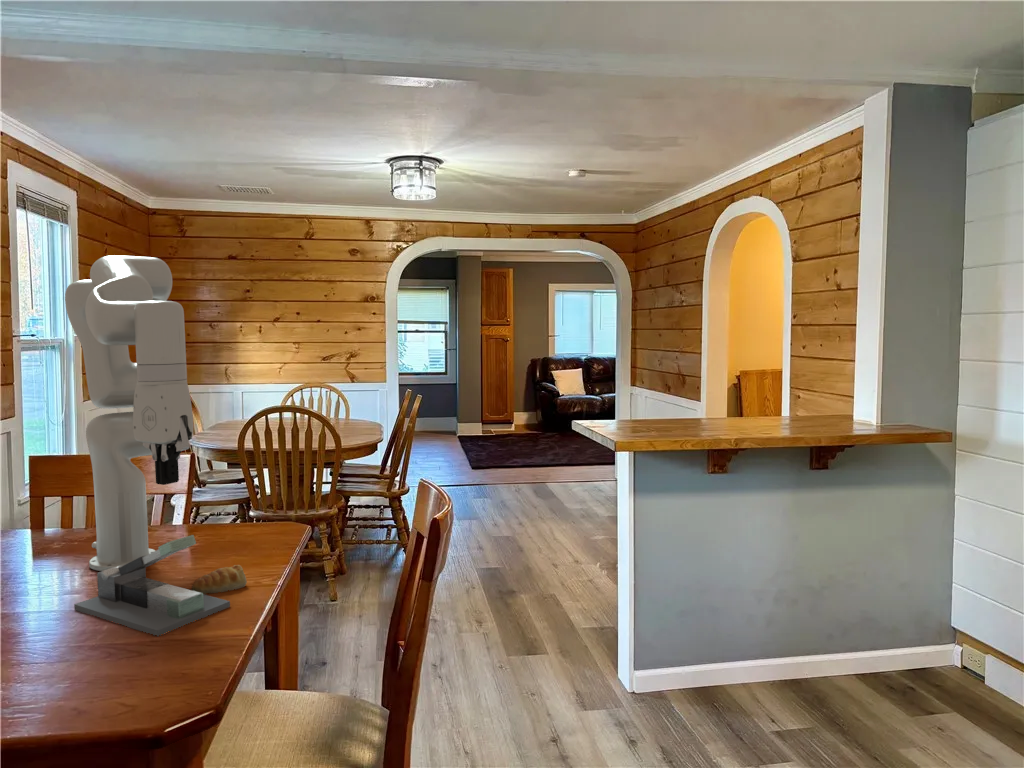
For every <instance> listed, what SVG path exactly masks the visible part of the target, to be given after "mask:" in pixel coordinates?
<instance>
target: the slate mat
mask: <svg viewBox="0 0 1024 768" xmlns="http://www.w3.org/2000/svg"><path fill="white" fill-rule="evenodd" d="M203 602H204V609H203V610H200V611H198V612H195V613H193V614H190V615H188V616H185V617H183V618H180V619H177V618H174V617H170V616H167V614H165V613H162V612H158V611H155V610H152V609H148V608H142V607H139V606H136V605H132V604H129V603H125V602H122V601H121V600H120V601H118V602H113V601H109V600H106V599H103V598H99V597H98V596H95V597H92V598H89V599H85V600H83V601H80V602H77V603H74V606H73V608H74V611H76V612H77V611H78V612H81V613H84V614H86V613H87V614H86V615H89V614H90V616H92V615H94V616H93V617H95V616H97V617H96V618H98V617H100V618H99V619H102V618H103V619H102V620H105V619H106V620H105V621H108V620H109V621H108V622H111V621H113V622H112V623H114V622H115V624H117V623H119V624H118V625H120V624H122V625H121V626H123V625H125V626H124V627H126V626H127V628H130V629H133V630H136V631H139V632H142V631H143V633H145V632H146V634H148V633H150V634H149V635H151V634H153V635H152V636H155V635H157V636H156V637H160V636H162V635H161V634H163V635H165V634H167V633H166V632H168V631H170V632H172V631H174V630H173V629H175V630H177V629H179V628H178V627H180V628H182V627H184V626H183V625H185V624H187V625H189V624H191V623H190V622H192V623H194V622H196V621H195V620H197V621H199V620H202V619H204V618H206V617H209V616H211V615H214V614H216V613H219V612H221V611H223V610H226V609H228V608H230V607H231V602H230V600H226V599H223V598H219V597H215V596H211V595H209V594H203ZM218 611H219V612H218ZM213 613H214V614H213ZM208 615H209V616H208ZM201 618H202V619H201ZM198 619H199V620H198ZM193 621H194V622H193ZM188 623H189V624H188ZM181 626H182V627H181ZM185 626H186V625H185ZM176 628H177V629H176ZM171 630H172V631H171ZM164 633H165V634H164ZM168 633H169V632H168ZM159 635H160V636H159Z"/></svg>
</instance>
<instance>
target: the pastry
mask: <svg viewBox="0 0 1024 768" xmlns="http://www.w3.org/2000/svg"><path fill="white" fill-rule="evenodd" d="M246 585H247V577H246V574H245V573H244V568H243V567H242V565H240V564H234V565H232V566H225V567H220V568H217V569H215V570H213V571H211V572H210V573H207V574H204V575H202V576H201V577H199V578H197V579H195V580H194V581H193V583H192V585H191V590H193V591H196V592H200V593H203V594H204V595H207V594H206V593H209V594H219V593H218V592H221V593H224V592H228V590H229V591H234V589H235V590H238V589H242V588H244V587H245V586H246Z"/></svg>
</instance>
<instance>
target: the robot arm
mask: <svg viewBox="0 0 1024 768" xmlns="http://www.w3.org/2000/svg"><path fill="white" fill-rule="evenodd" d="M89 271H90V272H89V278H90V279H89V278H88V279H81V280H77V281H74V282H72V283H70V284H68V286H67V287H66V289H65V293H64V300H65V301H64V302H65V309H66V314H67V318H68V320H69V323H70V325H71V326H72V327H71V328H72V329H73V331H74V333H75V336H76V337H77V339H78V341H79V344H80V345H81V348H82V353H83V362H84V368H85V377H86V383H87V390H88V396H89V398H90V401H91V403H92V404H93V406H95V407H97V408H99V409H109V410H110V409H125V408H126V409H127V408H129V409H131V408H133V410H132V411H124V412H123V411H122V412H110V413H104V414H100V415H97V416H96V417H94V418H92V419H91V420H89V421H88V424H87V426H86V428H85V439H86V443H87V444H86V445H87V447H88V448H87V449H88V451H89V457H90V462H91V468H92V469H91V470H92V478H93V493H94V509H95V510H94V513H95V531H96V533H95V534H96V540H95V541H94V542H92V543H91V547H92V549H96V555H95V556H93V557H92V558H91V559H89V561H88V564H89V565H88V566H89V568H90V569H92V570H94V571H99V572H102V571H103V570H107V569H110V568H113V567H116V566H120V565H123V564H126V563H130V562H132V561H134V560H136V559H138V558H139V557H142V556H146V555H148V554H150V553H152V552H154V551H156V550H155V549H154V548H149V532H148V531H149V529H148V528H149V527H148V506H147V488H146V487H147V486H146V485H147V484H146V477H145V474H144V473H143V472H142V470H141V469H140V468H138V467H137V465H135V464H134V462H132V461H131V459H134V458H138V457H144V456H146V457H147V456H151V457H152V461H154V466H155V467H154V470H155V471H154V472H155V473H154V474H155V483H156V484H157V485H162V486H164V485H165V486H166V485H170V484H175V483H176V484H177V483H178V482H179V481H180V479H179V478H180V476H179V475H180V474H179V459H181V452H182V451H186V450H189V449H190V442H189V441H191V439H193V436H194V416H193V406H192V400H191V399H192V398H191V394H190V388H189V385H188V369H187V351H186V347H187V346H186V331H185V326H186V325H185V311H184V310H185V309H184V308H183V306H182V304H181V303H180V302H177V301H172V300H168V299H169V297H170V295H171V292H172V289H173V275H172V272H171V271H172V270H171V269H170V267H169V265H168V264H167V263H166V261H164V260H162V259H161V258H158V257H151V256H135V255H115V254H114V255H106V256H105V255H104V256H102V257H100V258H98V259H97V260H95V262H94V263H93V264H92V265H91V267H90V270H89ZM129 346H135V355H136V356H135V359H136V362H133V361H131V358H130V352H129Z"/></svg>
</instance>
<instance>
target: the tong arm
mask: <svg viewBox="0 0 1024 768" xmlns="http://www.w3.org/2000/svg"><path fill="white" fill-rule="evenodd" d="M196 544H197V542H196V538H195V535H194V534H191V535H188V536H185V537H181V538H177V539H172V540H170V541H167V542H165V543H163V544H162V545H159V546H157V548H158V549H156V550H155V551H154V552H152V553H150V554H148V555H146V556H142V557H139V558H138V559H136V560H134V561H132V562H130V563H128V564H126V565H124V566H122V567H120V568H119V572H120V575H121V576H122V575H125V574H128V573H131V572H134V571H137V570H141V569H144V568H146V569H147V568H148V567H150V566H152V565H154V564H155V563H158V562H160V561H162V560H164V559H166V558H167V557H168V558H169V556H171V555H174V554H176V553H178V552H180V551H182V550H186V549H188V548H190V547H192V546H195V545H196Z"/></svg>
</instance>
